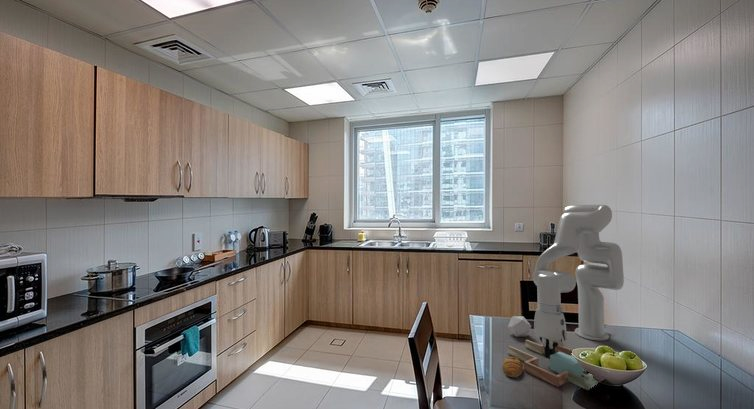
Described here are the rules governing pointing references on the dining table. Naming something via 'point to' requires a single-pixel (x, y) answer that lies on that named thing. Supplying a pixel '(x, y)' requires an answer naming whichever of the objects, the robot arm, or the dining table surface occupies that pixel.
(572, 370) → the teal block
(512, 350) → the wooden zigzag track
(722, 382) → the dining table surface
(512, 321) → the die
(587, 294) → the robot arm
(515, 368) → the pastry
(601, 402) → the dining table surface
